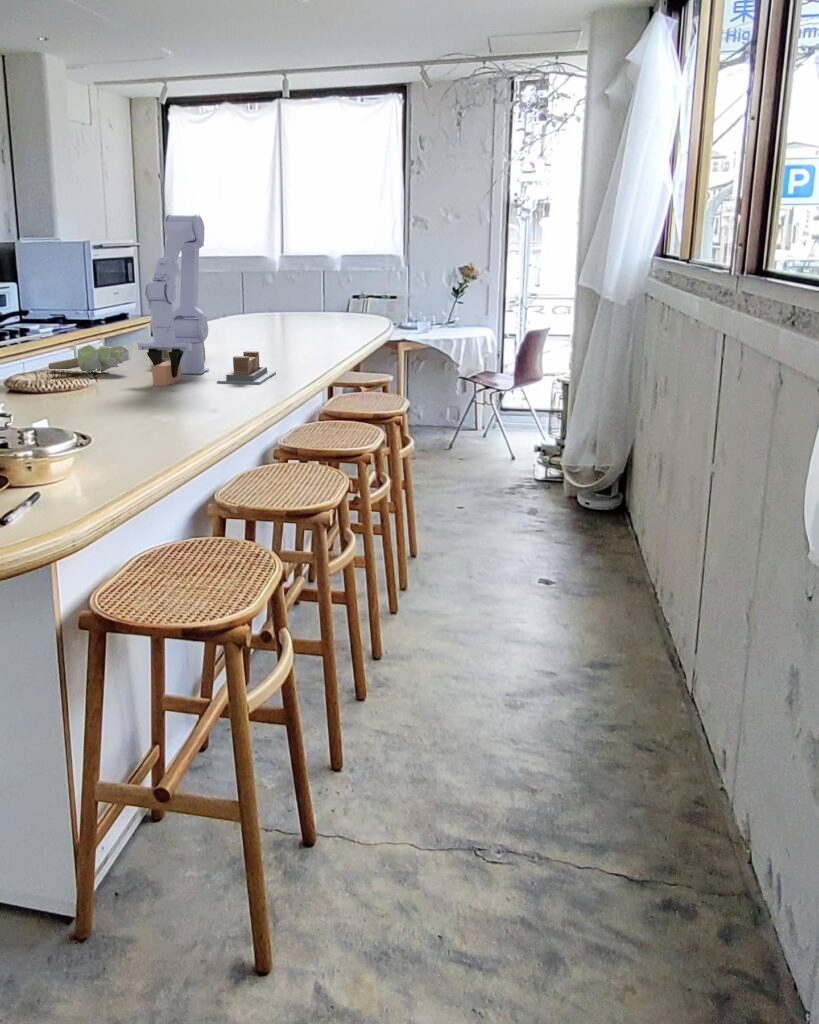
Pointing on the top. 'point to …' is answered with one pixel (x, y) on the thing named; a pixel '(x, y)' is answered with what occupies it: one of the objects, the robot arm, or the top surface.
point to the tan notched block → (246, 363)
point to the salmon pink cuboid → (164, 374)
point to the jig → (248, 377)
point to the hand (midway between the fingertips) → (167, 376)
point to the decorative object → (94, 358)
